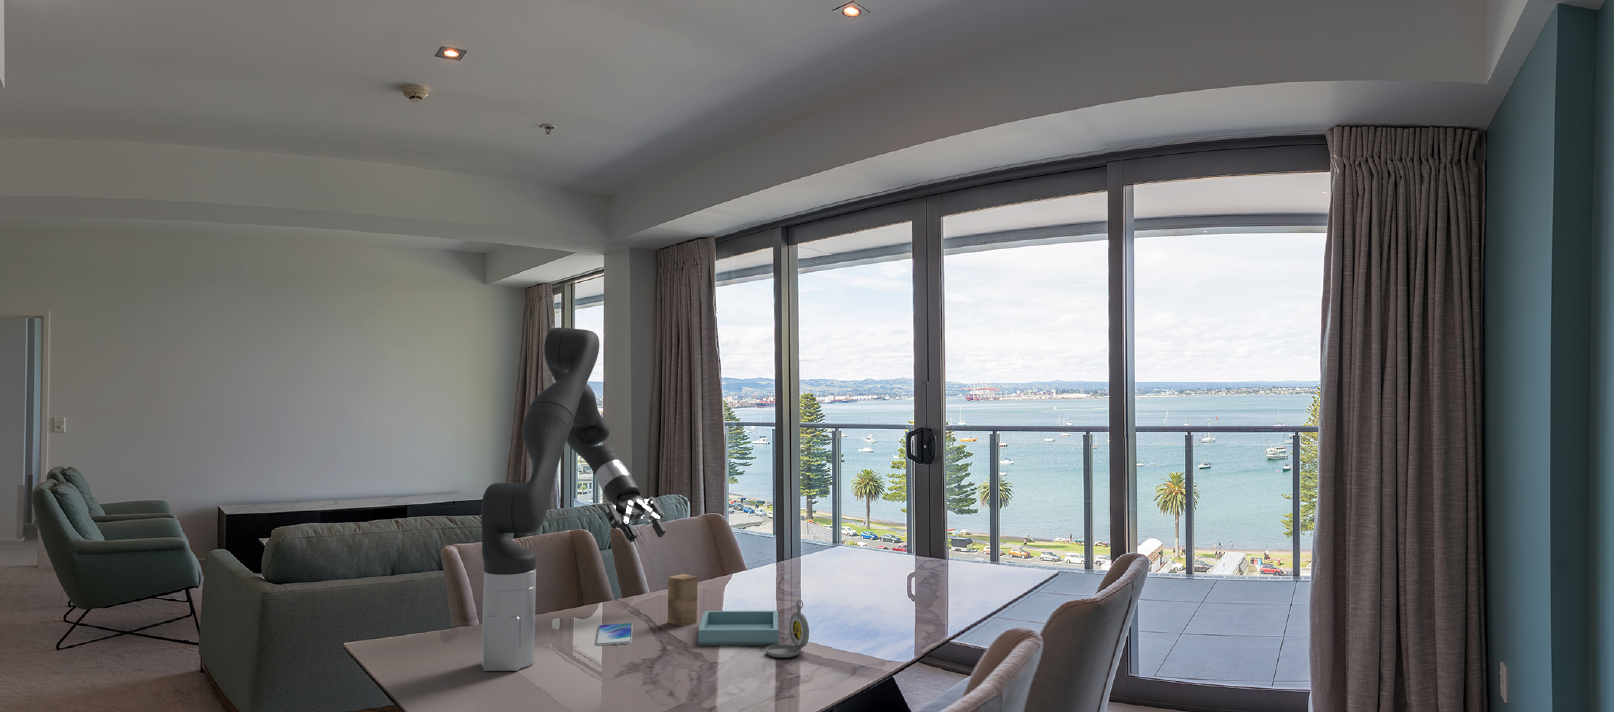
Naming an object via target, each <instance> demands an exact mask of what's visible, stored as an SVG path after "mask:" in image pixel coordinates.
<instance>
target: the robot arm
mask: <svg viewBox="0 0 1614 712" xmlns="http://www.w3.org/2000/svg"><path fill="white" fill-rule="evenodd" d="M543 344H544V345H543V355H544V358H545V361H546V365H547V367H548V369H549V371H550V373H551V375H552V377H553V380H554V383H552V384H551V385H550V386H548V387H547V388H545V389H544V390H543V391H542V392H540V393H539V394H538V395H536V396H535V398H534V399H533V400H532V401H531V403H530V406H529V407H528V411H527V413H526V416H525V417H524V421H523V423H522V427H521V437H522V440H523V444H524V446H525V448H526V451H527V453H528V456H529V458H530V460H531V464H532V473H531V476H530V478H529V480H527V482H522V483H521V482H494V483H492V484H490V485H488V487H487V488H486V489H485V491H484V493H483V496H482V501H481V510H480V516H481V517H480V520H481V521H480V523H481V526H480V527H481V554H482V560H483V591H482V592H483V593H482V596H483V597H482V624H481V625H482V628H481V634H482V635H481V667H482V668H483V670H482V671H483V672H496V671H497V672H500V671H501V672H502V671H503V672H509V671H510V672H511V671H513V672H514V671H515V672H517V671H519V670H520V669H523V668H527V667H530V666H531V665H533V663H534V662H535V634H536V633H535V632H536V630H535V629H536V628H535V627H536V625H535V623H536V591H537V589H536V587H537V586H536V583H537V581H536V579H537V557H536V556H537V555H536V553H534V552H533V551H532V550H529V549H527V548H524V547H523V546H520V545H519V544H517V543H516V542H515V541H514V540H513V539H512V538H511V535H510V534H532V533H536V532H537V531H538V530H540V528H541V526H542V525H543V523H544V521H545V518H546V515H547V512H548V508H549V504H550V499H551V497H552V491H553V487H554V482H555V478H556V476H557V475H556V474H557V470H558V469H559V468H558V467H559V464H560V462H561V461H560V460H561V459H562V455H563V452H564V449H565V446H566V444H568V446H569V447H570V448H571V449H572V450H573V451H574V452H575V453H576V454H577V455H579V456H580V457H581V458H582V459H583V460H584V461H585V462H586V464H587V465H588V466H589V468H590V469H591V471H592V473H593V474H594V476H595V478H596V481H597V483H598V485H599V487H600V490H601V491H602V492H603V494H604V496H605V498H606V500H607V504H605V506H604V507H603V509H602V510H603V513H604V514H605V517H606V518H607V520H608V523H609V525H610V528H611V529H613V530H616V529H619V530H620V531H622V532H623V535H624V536H625V538H626V540H628V541H629V542H630V543H634V541H636V539H637V537H638V535H637V533H636V532H635V530H634V528H633V526H632V525H631V523H630V522H629V521H632V520H641V521H643V522H647V523H649V524H650V525H651V528H652V529H653V531H654V533H655V534H656V535H657V537H658V538H662V537H664V536H665V534H666V528H665V526H664V525H663V523H662V522H661V520H663V518H664V517H665V513H664V511H663V509H662V508H661V507H660V505H659V503H658V502H657V501H656V500H655V498H654V497H653V496H650V497H649V498H648V499H644V498H643V497H641V492H640V487H639V486H638V485H637V483H636V481H635V480H634V478H633V476H632V474H631V473H630V471H629V469H628V468H627V467H626V465H625V464H624V463H623V462H622V460H621V458H620V457H619V454H618V453H617V452H616V450H615V448H614V447H613V446H611V444H602V443H603V442H605V441H606V440H607V439H608V438H609V436H610V433H611V429H610V427H609V426H610V425H609V424H608V422H607V421H606V419H605V418H604V417H603V416H602V414H601V413H600V411H599V409H598V403H597V398H596V394H595V392H594V391H593V389H592V387H591V386H590V385H589V384H588V381H589V379H590V377H591V375H592V372H593V370H594V368H595V366H596V362H597V360H598V358H599V356H598V355H599V353H600V339H599V336H598V334H597V333H596V332H594V331H592V330H588V329H583V328H581V329H580V328H572V327H570V328H569V327H553V328H551V329H550V330H549V331H548V332H547V334H546V336H545V340H544V343H543ZM645 511H646V514H645Z"/></svg>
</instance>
